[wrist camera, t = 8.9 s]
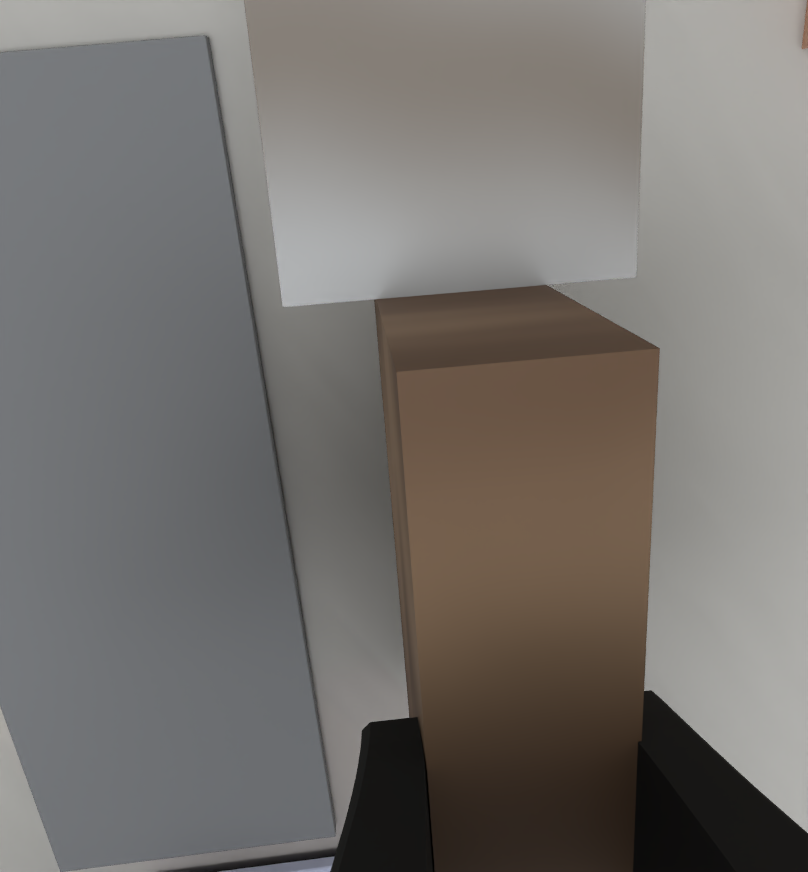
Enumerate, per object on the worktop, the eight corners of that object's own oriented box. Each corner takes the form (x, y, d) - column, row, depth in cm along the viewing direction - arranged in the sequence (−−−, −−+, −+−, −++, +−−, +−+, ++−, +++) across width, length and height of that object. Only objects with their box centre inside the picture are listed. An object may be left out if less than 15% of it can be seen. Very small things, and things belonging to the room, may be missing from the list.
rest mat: (335, 824, 22) (335, 836, 22) (65, 859, 22) (60, 872, 22) (208, 38, 15) (204, 35, 14) (-216, 73, 14) (-231, 71, 14)
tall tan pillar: (599, 852, 16) (709, 1145, 11) (360, 882, 15) (368, 1195, 11) (620, -64, 10) (864, -267, 5) (246, -41, 10) (159, -233, 5)
